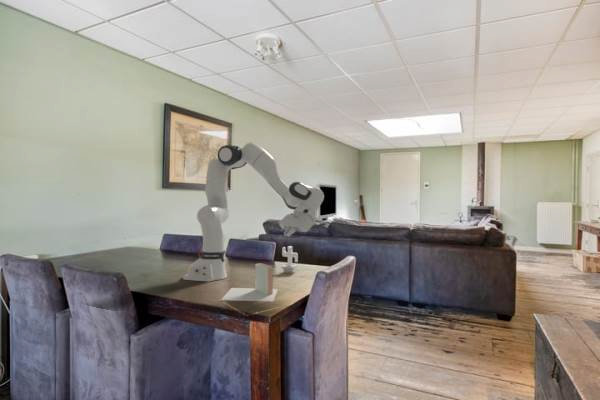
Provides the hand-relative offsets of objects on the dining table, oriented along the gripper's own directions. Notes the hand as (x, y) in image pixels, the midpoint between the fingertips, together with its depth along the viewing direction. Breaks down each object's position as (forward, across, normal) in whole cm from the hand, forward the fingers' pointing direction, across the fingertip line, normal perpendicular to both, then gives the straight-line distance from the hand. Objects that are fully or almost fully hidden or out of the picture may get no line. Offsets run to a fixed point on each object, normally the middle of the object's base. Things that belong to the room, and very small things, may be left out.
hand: (286, 235), depth 157 cm
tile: (+26, 0, +9) cm, 28 cm away
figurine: (+3, -25, +33) cm, 42 cm away
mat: (+31, 0, +5) cm, 32 cm away
